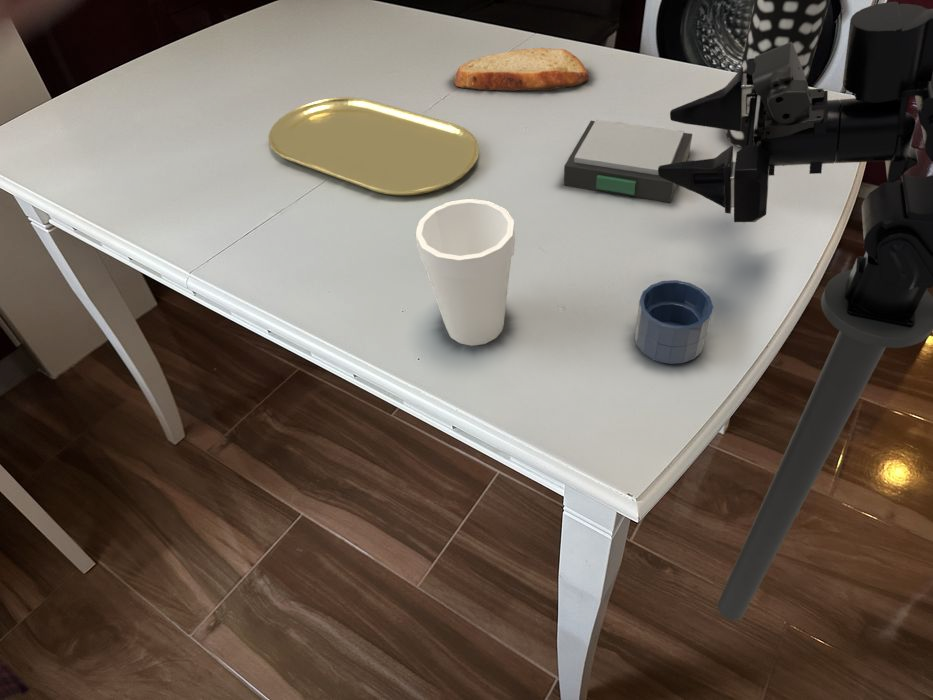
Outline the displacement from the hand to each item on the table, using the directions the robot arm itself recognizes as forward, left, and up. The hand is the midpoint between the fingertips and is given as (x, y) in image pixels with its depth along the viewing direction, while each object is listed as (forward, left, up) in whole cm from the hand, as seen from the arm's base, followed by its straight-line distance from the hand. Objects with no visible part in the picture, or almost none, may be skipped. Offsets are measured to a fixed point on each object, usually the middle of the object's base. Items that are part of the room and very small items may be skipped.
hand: (664, 142), depth 70 cm
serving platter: (+44, -11, -14) cm, 47 cm away
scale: (+7, -16, -14) cm, 22 cm away
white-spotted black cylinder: (-8, -29, -14) cm, 33 cm away
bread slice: (+30, -37, -14) cm, 50 cm away
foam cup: (+15, +18, -14) cm, 27 cm away
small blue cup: (-5, +14, -14) cm, 21 cm away
